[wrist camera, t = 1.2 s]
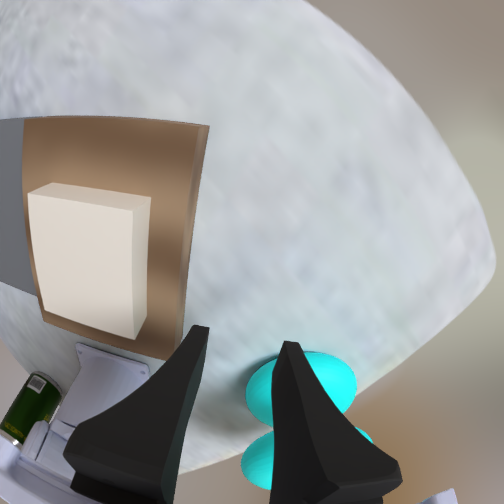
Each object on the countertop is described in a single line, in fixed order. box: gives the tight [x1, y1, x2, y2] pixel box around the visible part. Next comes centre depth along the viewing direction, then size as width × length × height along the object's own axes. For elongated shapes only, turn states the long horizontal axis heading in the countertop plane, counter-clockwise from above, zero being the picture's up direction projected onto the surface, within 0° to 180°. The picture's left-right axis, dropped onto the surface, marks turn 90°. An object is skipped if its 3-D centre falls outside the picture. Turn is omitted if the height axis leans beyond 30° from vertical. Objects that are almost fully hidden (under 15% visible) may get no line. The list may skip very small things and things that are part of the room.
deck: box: [22, 116, 210, 361], centre depth 17 cm, size 16×12×3 cm
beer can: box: [0, 371, 62, 451], centre depth 23 cm, size 5×5×12 cm
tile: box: [28, 183, 151, 340], centre depth 15 cm, size 8×7×2 cm
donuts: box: [241, 352, 373, 490], centre depth 20 cm, size 10×10×10 cm
